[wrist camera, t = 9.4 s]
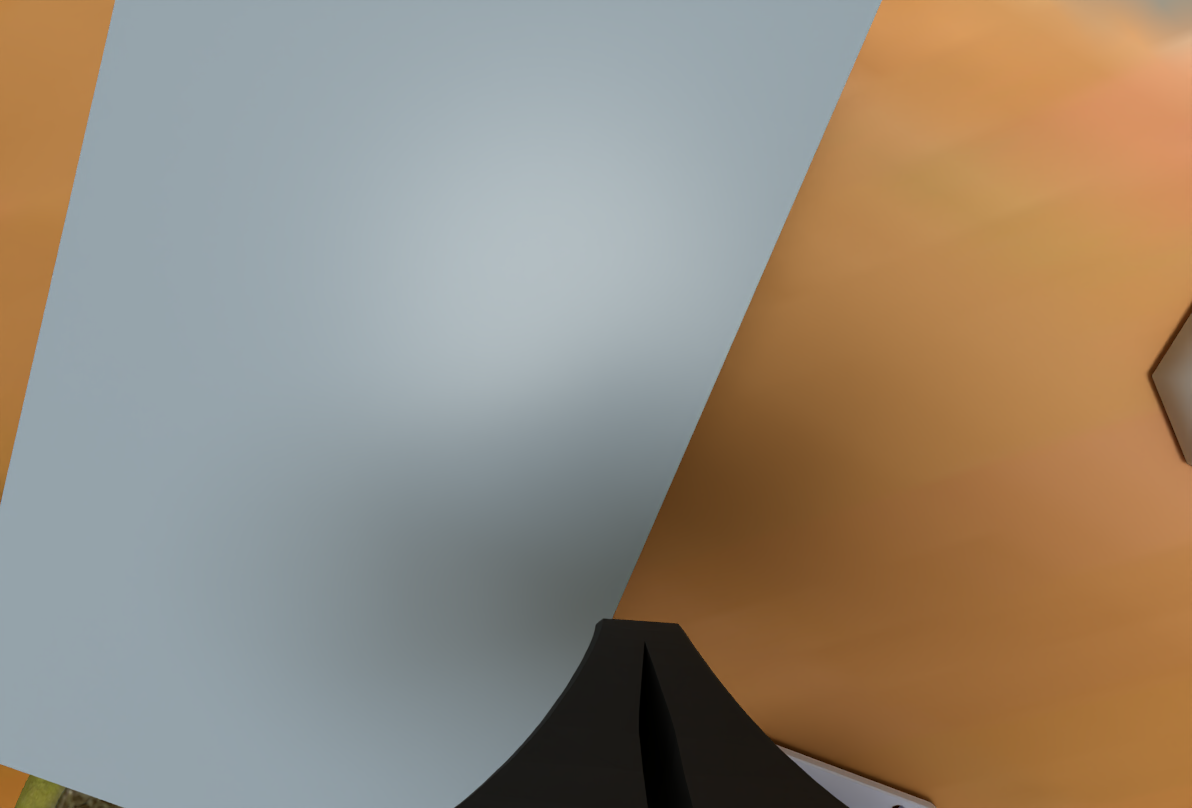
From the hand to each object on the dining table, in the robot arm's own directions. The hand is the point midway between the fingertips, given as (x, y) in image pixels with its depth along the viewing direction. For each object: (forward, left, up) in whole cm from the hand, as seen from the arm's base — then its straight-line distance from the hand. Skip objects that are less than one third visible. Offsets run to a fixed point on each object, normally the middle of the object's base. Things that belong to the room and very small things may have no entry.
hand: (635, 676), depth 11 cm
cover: (+6, -1, -3) cm, 7 cm away
